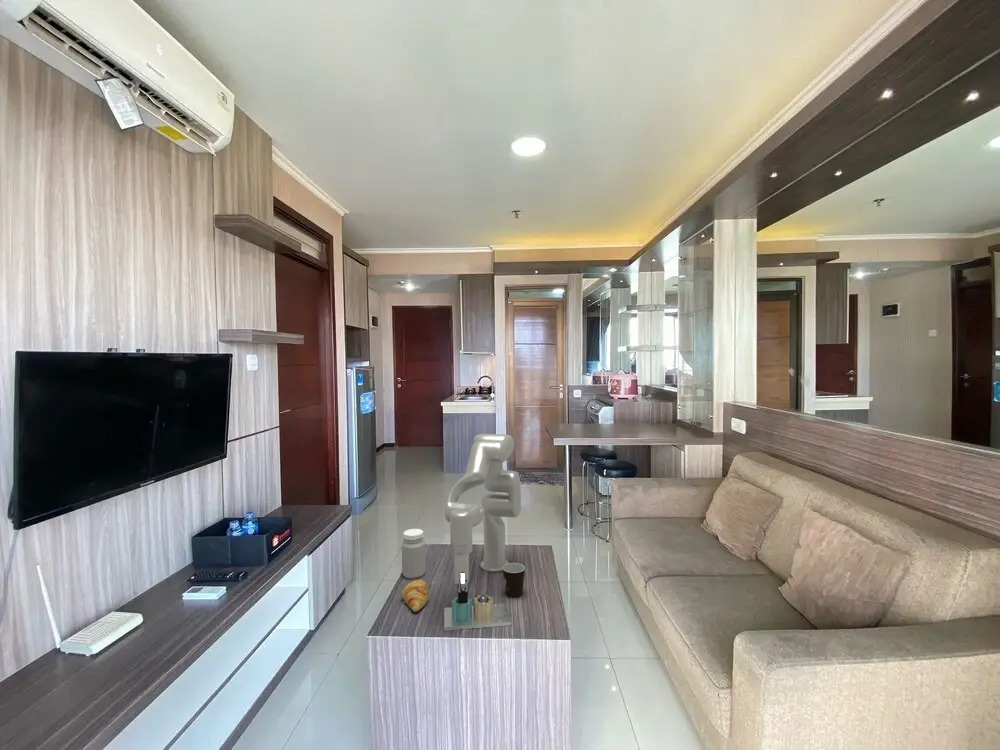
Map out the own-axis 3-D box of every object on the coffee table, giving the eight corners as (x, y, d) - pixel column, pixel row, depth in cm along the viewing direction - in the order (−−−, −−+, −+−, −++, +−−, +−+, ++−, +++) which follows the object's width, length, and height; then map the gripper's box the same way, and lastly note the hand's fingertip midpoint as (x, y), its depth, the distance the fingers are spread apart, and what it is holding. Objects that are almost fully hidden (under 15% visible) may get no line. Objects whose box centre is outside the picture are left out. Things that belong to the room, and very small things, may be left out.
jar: (416, 567, 188) (416, 526, 188) (430, 574, 181) (429, 531, 181) (397, 574, 181) (397, 532, 181) (410, 582, 174) (410, 538, 174)
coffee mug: (523, 600, 159) (523, 573, 159) (500, 598, 160) (500, 571, 160) (527, 585, 170) (527, 560, 170) (506, 583, 172) (506, 559, 172)
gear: (451, 610, 150) (451, 596, 150) (471, 609, 151) (471, 594, 151) (452, 621, 143) (451, 606, 143) (472, 619, 144) (472, 605, 144)
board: (444, 611, 152) (444, 590, 152) (505, 606, 155) (505, 586, 155) (444, 630, 140) (444, 608, 140) (510, 625, 143) (510, 603, 143)
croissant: (424, 623, 151) (435, 602, 151) (398, 613, 149) (409, 592, 149) (422, 593, 171) (431, 574, 172) (399, 583, 169) (409, 565, 170)
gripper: (450, 537, 155) (451, 583, 156) (450, 558, 138) (451, 610, 138) (470, 535, 156) (471, 581, 156) (474, 556, 139) (475, 608, 139)
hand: (462, 595), depth 147 cm, fingers open, 9 cm apart
